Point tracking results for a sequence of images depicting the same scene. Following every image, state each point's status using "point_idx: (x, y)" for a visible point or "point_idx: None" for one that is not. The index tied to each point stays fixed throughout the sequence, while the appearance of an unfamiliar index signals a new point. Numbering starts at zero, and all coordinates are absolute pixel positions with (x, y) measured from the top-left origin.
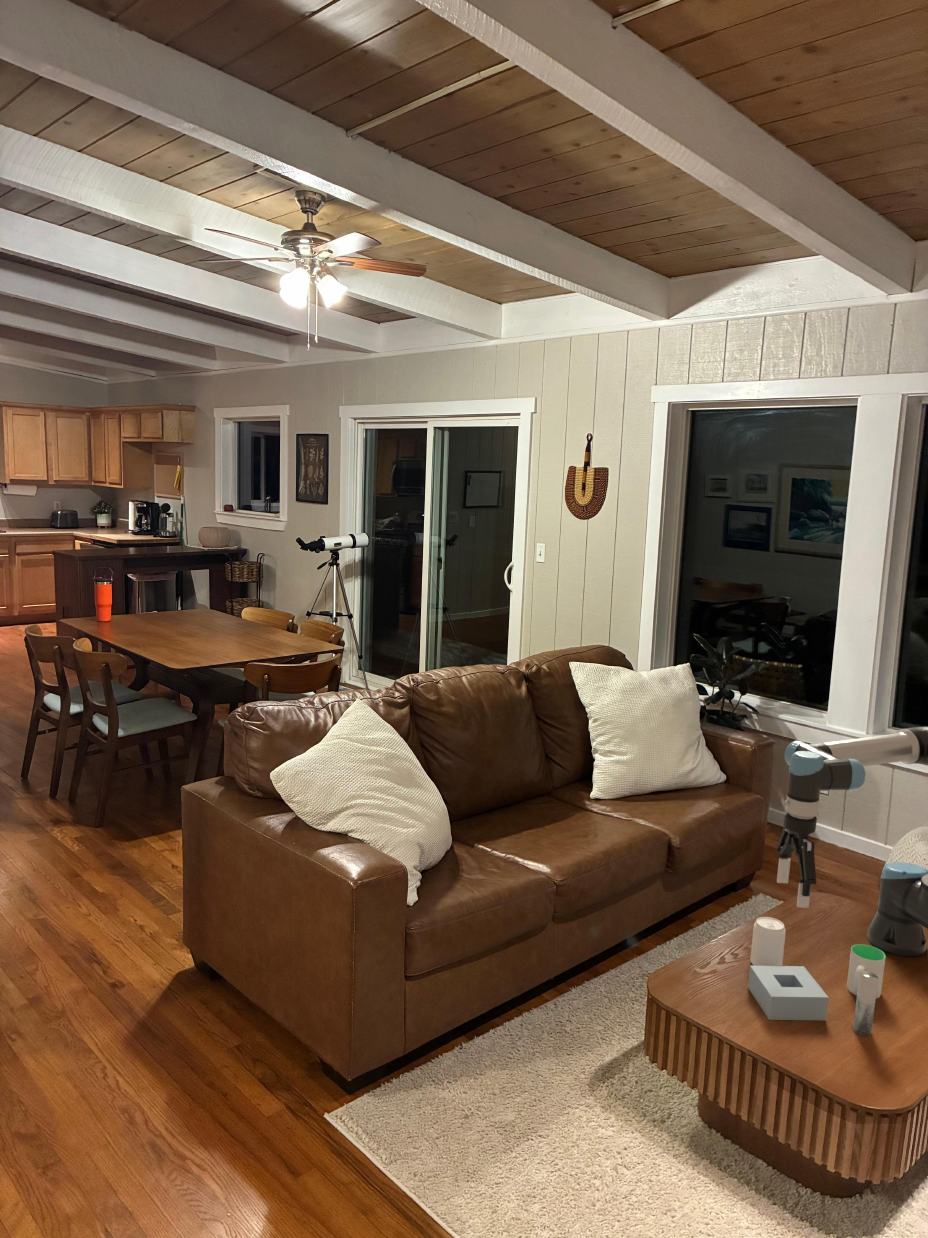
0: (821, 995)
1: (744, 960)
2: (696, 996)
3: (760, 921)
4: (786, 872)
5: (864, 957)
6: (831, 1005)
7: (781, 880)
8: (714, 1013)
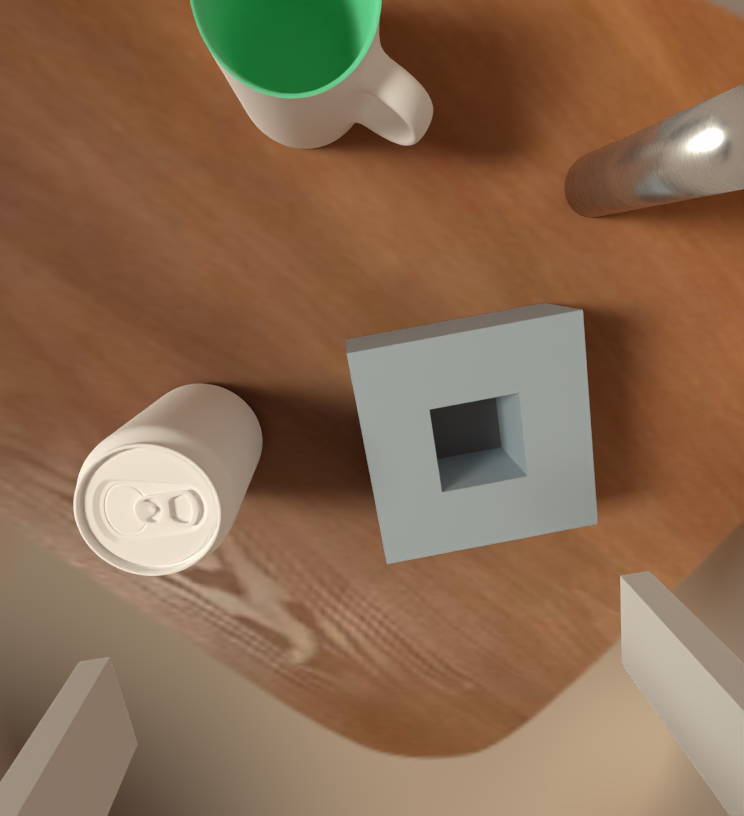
0: (571, 335)
1: None
2: (460, 668)
3: (133, 552)
4: (56, 795)
5: (217, 11)
6: (442, 253)
7: (117, 740)
8: (542, 630)
